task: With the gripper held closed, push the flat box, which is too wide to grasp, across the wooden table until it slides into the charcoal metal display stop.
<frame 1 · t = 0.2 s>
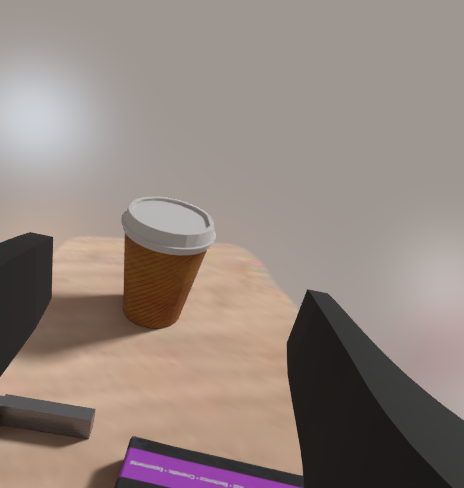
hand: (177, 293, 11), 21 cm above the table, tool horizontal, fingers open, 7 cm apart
disposable coffee cup: (151, 311, 45), on the table
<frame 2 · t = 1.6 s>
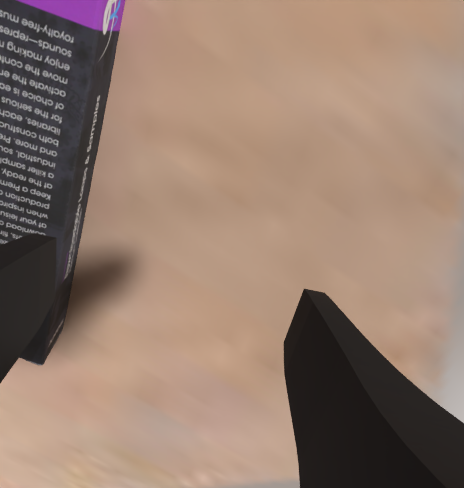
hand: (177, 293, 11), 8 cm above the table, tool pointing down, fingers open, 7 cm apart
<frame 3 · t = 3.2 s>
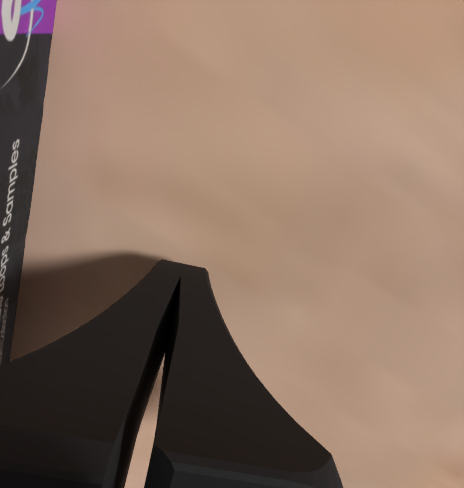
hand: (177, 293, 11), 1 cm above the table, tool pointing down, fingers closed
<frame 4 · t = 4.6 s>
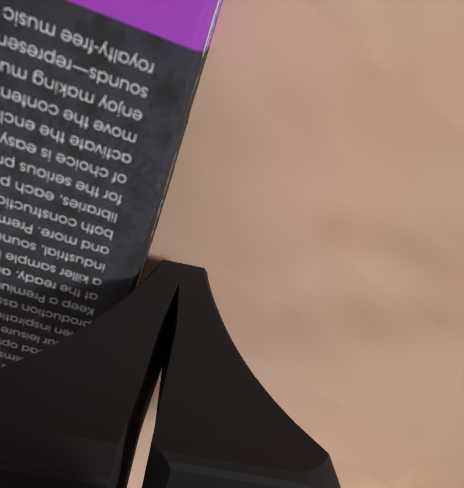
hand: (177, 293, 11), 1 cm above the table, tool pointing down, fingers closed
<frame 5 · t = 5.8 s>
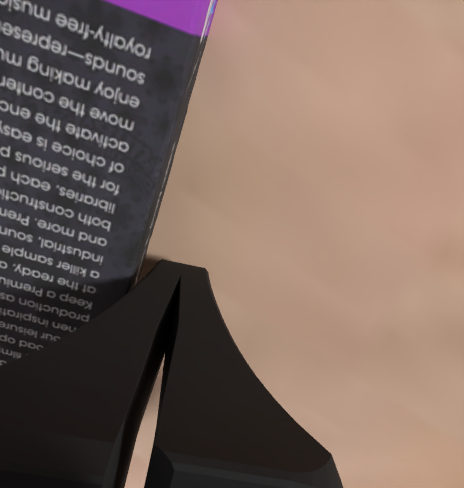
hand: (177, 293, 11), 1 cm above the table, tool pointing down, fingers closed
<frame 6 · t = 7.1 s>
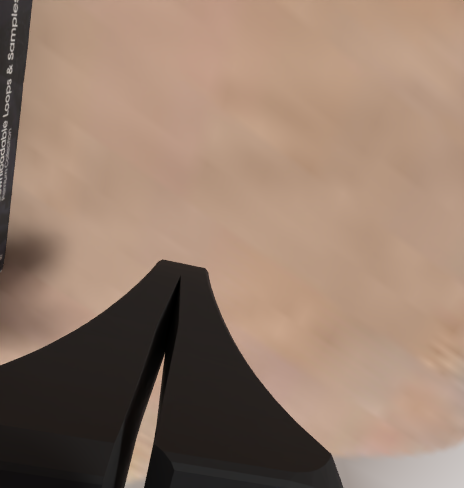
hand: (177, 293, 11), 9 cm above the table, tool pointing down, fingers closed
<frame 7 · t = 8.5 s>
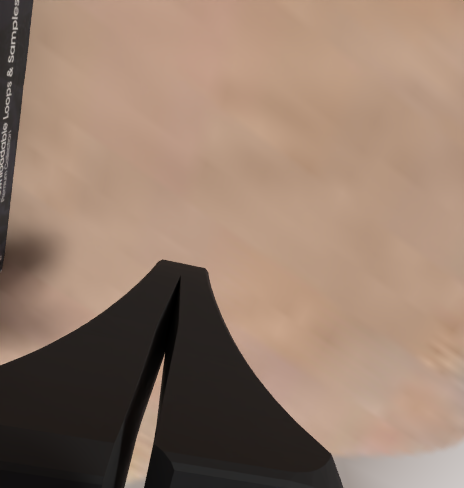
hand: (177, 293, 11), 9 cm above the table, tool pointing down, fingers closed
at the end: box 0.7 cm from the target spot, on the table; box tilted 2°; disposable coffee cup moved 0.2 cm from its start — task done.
